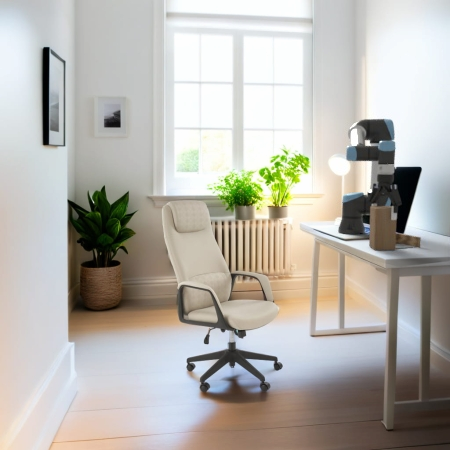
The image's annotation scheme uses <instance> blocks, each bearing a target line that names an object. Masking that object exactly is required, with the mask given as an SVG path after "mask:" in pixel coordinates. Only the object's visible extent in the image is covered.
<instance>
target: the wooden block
mask: <svg viewBox="0 0 450 450" xmlns="http://www.w3.org/2000/svg"><path fill="white" fill-rule="evenodd" d="M391 210H392V205H390V206H371V207H370V215H369V242H368V245H369V246H368V247H370V248H371V249H373V251H395V250H396V249H395V246H396V233H397V220H391Z"/></svg>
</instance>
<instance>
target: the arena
mask: <svg viewBox="0 0 450 450" xmlns="http://www.w3.org/2000/svg"><path fill="white" fill-rule="evenodd" d="M413 247H414V248H417V247H419V248H421V236H415V235H410V234H406V233H400V232H396V246H395V250H401V249H413Z"/></svg>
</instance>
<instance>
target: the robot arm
mask: <svg viewBox="0 0 450 450" xmlns="http://www.w3.org/2000/svg"><path fill="white" fill-rule="evenodd" d="M347 135H348V139H349V145H347V146H346V155H345V157H346V158H345V159H346V161H348V162H371V166H370V167H371V168H370V169H371V171H370V188H369V189H368V191H367V194H365V193H364V192H363V191H357V192H349V193H345V194H344V195H342V203H341V205H342V206H341V207H342V208H341V220H340V223H339V226H338V229H337V231H338V233H340V234H345V235H361V234H360V233H364V234H365V233H366V228H365V225H364V221H363V216H370V207H371V206H391V207H392V210H391V220H396V221H397V219H398V211H399V206H402V204H403V203H402V199H401V196H400V193H399V189H398V187H399V186H398V184H393V183H394V180H395V175H394V173H395V160H396V159H395V157H396V149H397V148H396V142H395V138H396V137H395V125H394V121H393V120H392V119H390V118H375V119H374V118H372V119H371V118H369V119H367V118H366V119H365V118H364V119H360V120H358V121H356V122H354V123H353V124H352V125H351V126H350V127H349V129H348V132H347ZM366 141H369V145H366ZM391 204H392V205H391Z"/></svg>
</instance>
